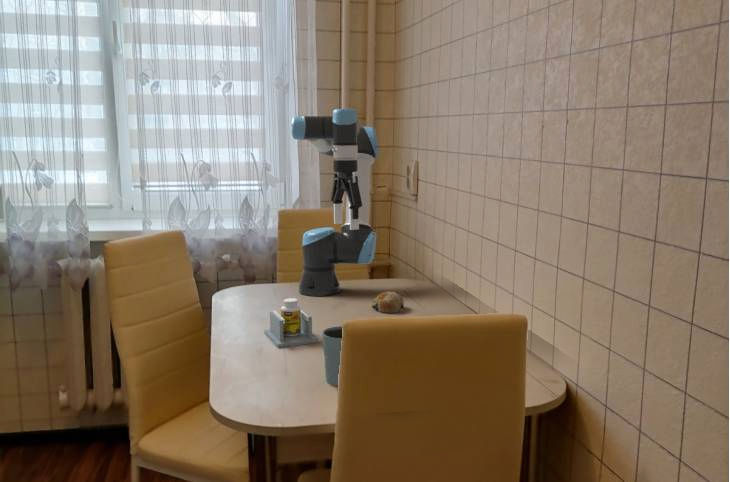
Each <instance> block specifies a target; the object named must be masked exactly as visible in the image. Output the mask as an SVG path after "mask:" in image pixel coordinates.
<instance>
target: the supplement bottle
mask: <svg viewBox="0 0 730 482" xmlns="http://www.w3.org/2000/svg"><path fill="white" fill-rule="evenodd" d="M298 302H299V301H298V299H297V298H295V297H293V298H292V297H291V298H286V299H283V305H282V306H281V307H280V316H281V317H283V318H284V319H285V324H283V335H284V336H289V337H291V336H297V335H299V334H300V333H301V309H302V308H301V306H300V305H298ZM300 308H301V309H300Z"/></svg>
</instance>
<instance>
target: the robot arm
mask: <svg viewBox="0 0 730 482" xmlns="http://www.w3.org/2000/svg"><path fill="white" fill-rule="evenodd" d="M357 113H358V112H357V110H356V109H354V108H336V109H333V111H332V115H321V116H319V115H318V116H317V115H315V116H314V115H313V116H312V115H311V116H309V115H308V116H307V115H301V116H300V115H299V116H298V115H297V116H293V118H292V119H291V135H292V138H293V139H294V140H300V141H303V140H304V141H305V140H306V141H308V142H309V143H310V144H311V146H312V148H313V149H314V150H315V151H316V152H318V153H320V154H323V155H326V156H327V157H333V158H334V159H333V165H332V166H333V172H335V173H334V174H333V184H332V191H331V197H330V200H331V202H332V203H333V224H334V225H340V224H342V225H341V227H340V231H336V230H335V228H334V227H319V228H313V229H310V230H308V231H305V232H304V233H303V235H302V244H301V246H302V269H303V270H302V274H301V278H300V281H299V284H298V292H299V294H301V295H303V296H309V297H310V296H311V297H312V296H313V297H325V296H332V295H336V294H339V292H340V291H341V284H340V282H339V278H338V276H337V273H336V268H335V267H336V264H338V265H339V264H340V265H359V266H360V265H366V264H367V265H368V264H371V263H372V262H373V260H374V256H375V252H376V248H377V247H376V246H377V232H375V231H374V228H373V227H372V226H371V225H370V223H369V222H370V196H371V195H370V192H371V191H370V190H371V165H373V164H374V163H375V158H378V157H379V155H380V154H379V148H378V140H377V132H376V131H377V130H376V128H375V127H372V126H365V125H363V126H361V124H360V121H359V120H358V114H357ZM345 192H346V202H345V204H346V205H345V222H344V224H343V221H344V220H343V203H344V200H343V198H344V194H345Z"/></svg>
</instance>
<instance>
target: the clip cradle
mask: <svg viewBox="0 0 730 482" xmlns="http://www.w3.org/2000/svg"><path fill="white" fill-rule="evenodd" d="M300 309H301V333H300V334H299V335H297V336H291V337H289V336H284V335H283V324H285V319H284V318H283V317H281V314H279V312H278V311H276V310H272V311H269V326H270V327H269V328H270V329H264V331H263V333H264V335H265V337H267V338H268V339H269V340H270V341H271V342H272V343H273V344H274V346H275V347H276V348H277V349H278V348H279V349H281V348H288V347H293V346H302V345H307V344H313V343H320V338H319V337H318V336H316V335H315V334H314V332H313V316H312V315H310V314H309V313H307V312H306V311H305V310H304V309H303V308H301V307H300Z"/></svg>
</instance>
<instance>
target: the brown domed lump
mask: <svg viewBox="0 0 730 482" xmlns="http://www.w3.org/2000/svg"><path fill="white" fill-rule="evenodd" d="M404 305H405V304H404V299H403V297H402V296H401V294H398V293H397V292H396V291H384V292H383V291H382V292H381V293H379V294H378V295H377V296H376V297H375V298H374V299H373V300H372V305H371V308H372V309H374V311H375V312H378V313H381V314H382V313H383V314H396V312H397V313H402V312H403V311H404Z"/></svg>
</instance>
